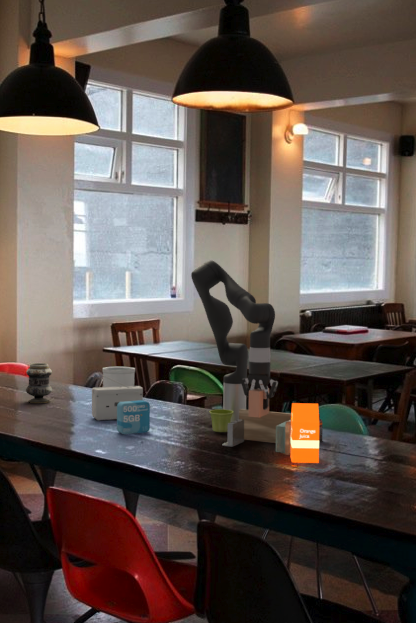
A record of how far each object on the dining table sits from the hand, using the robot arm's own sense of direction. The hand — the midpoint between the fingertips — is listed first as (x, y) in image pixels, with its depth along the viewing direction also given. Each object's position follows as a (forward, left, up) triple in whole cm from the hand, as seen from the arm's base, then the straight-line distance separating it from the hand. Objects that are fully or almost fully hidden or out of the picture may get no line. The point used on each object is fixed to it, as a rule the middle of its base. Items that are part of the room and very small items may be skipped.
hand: (259, 408), depth 296 cm
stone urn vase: (-46, -131, -15) cm, 139 cm away
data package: (-6, -55, -15) cm, 57 cm away
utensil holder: (-54, -92, -15) cm, 107 cm away
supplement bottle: (-19, +14, -15) cm, 28 cm away
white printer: (-28, -76, -15) cm, 82 cm away
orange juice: (+11, +21, -15) cm, 28 cm away
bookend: (0, -9, -13) cm, 16 cm away
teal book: (0, +10, -14) cm, 17 cm away
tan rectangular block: (0, 0, -2) cm, 2 cm away
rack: (-2, +1, -15) cm, 15 cm away
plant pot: (-20, -24, -15) cm, 34 cm away
